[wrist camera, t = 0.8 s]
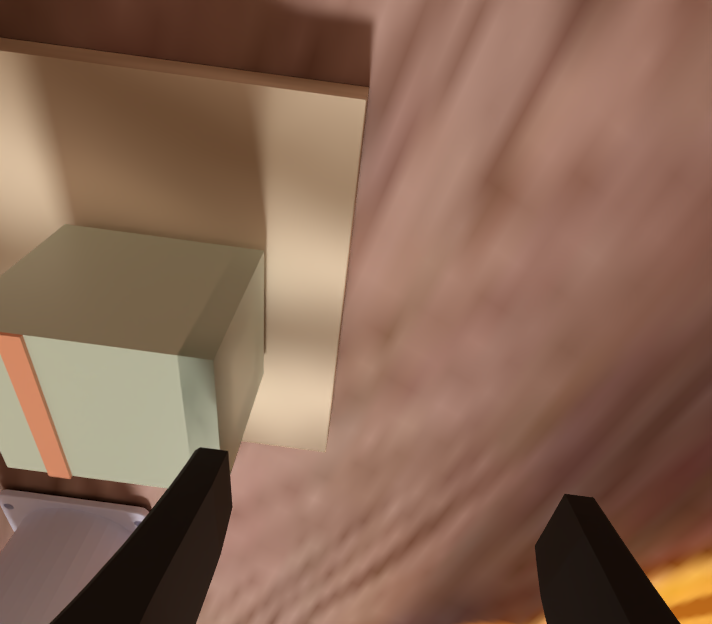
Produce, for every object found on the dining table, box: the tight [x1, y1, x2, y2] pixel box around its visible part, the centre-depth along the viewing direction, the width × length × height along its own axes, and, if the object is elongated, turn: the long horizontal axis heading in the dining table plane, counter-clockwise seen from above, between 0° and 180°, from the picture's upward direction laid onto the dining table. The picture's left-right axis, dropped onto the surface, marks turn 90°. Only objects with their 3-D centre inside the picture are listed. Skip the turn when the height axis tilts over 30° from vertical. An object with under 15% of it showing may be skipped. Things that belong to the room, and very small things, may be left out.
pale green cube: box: [0, 224, 264, 488], centre depth 14 cm, size 5×6×5 cm
